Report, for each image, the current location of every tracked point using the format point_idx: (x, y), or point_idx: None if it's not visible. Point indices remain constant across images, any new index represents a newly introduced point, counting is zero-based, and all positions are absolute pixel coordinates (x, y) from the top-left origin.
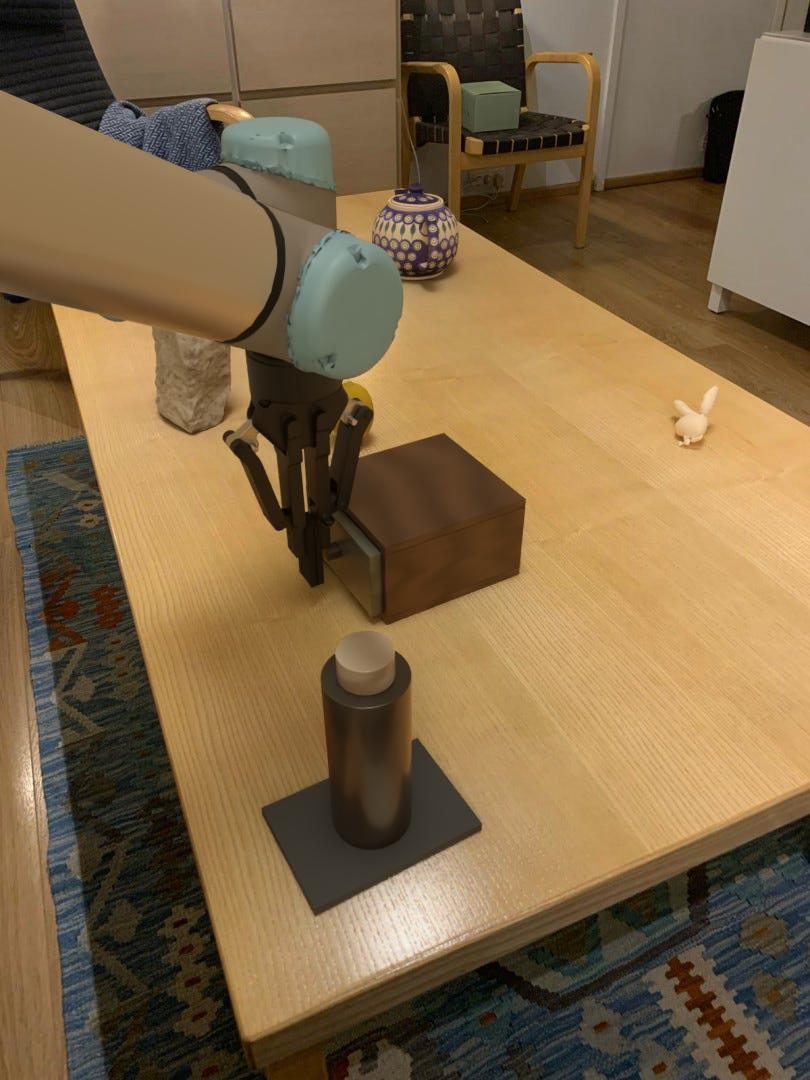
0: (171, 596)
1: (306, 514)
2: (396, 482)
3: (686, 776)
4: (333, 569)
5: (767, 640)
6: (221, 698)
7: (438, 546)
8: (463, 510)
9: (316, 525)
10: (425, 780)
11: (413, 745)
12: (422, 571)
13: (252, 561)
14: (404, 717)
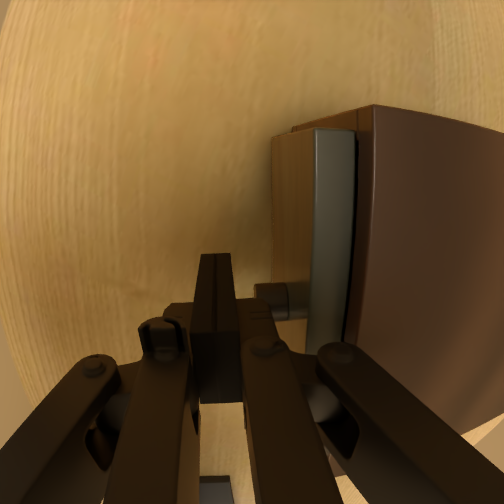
0: (14, 165)
1: (227, 346)
2: (494, 302)
3: (362, 499)
4: (273, 249)
5: (483, 429)
6: (61, 378)
7: None
8: (480, 414)
9: (233, 395)
10: (216, 499)
11: (222, 485)
12: None
13: (150, 118)
14: None
